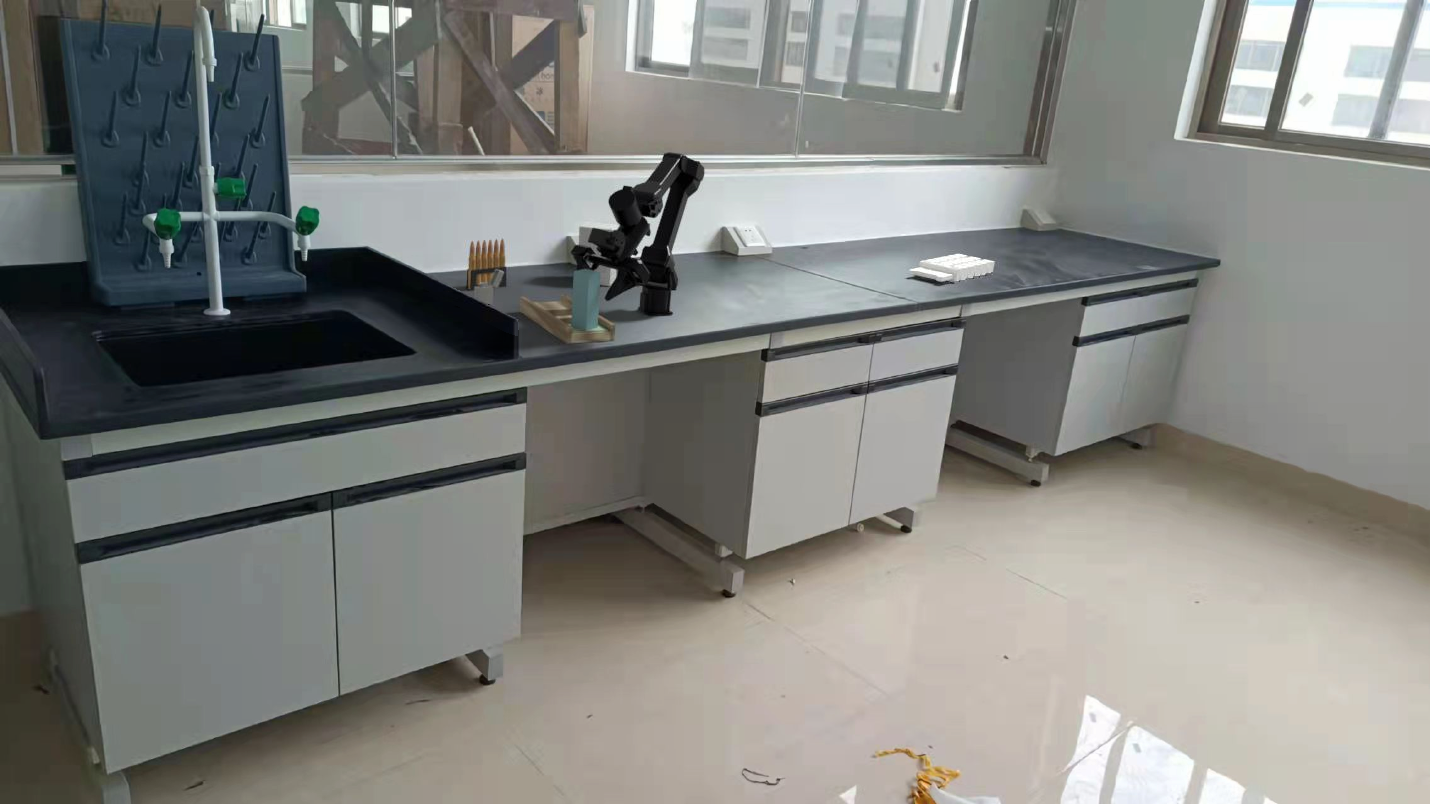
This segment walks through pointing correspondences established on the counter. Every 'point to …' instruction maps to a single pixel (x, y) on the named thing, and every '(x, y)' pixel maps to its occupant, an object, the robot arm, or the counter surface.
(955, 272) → the organizer
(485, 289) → the lighter
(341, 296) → the counter surface
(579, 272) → the teal block
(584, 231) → the supplement box
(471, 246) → the ammunition clip
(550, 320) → the wooden slatted tray
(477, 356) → the counter surface
